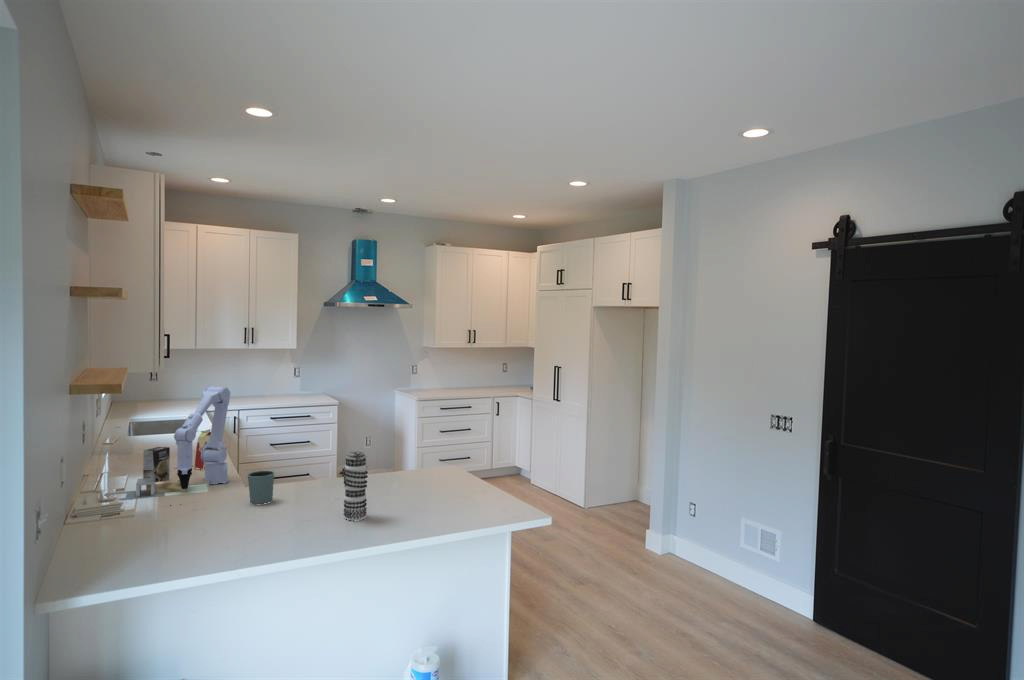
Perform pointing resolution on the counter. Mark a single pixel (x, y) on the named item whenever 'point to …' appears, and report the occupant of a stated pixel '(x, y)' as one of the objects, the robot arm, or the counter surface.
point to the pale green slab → (143, 493)
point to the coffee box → (157, 463)
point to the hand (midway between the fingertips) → (184, 487)
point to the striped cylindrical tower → (355, 486)
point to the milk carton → (201, 448)
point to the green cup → (261, 486)
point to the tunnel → (145, 482)
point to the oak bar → (165, 487)
